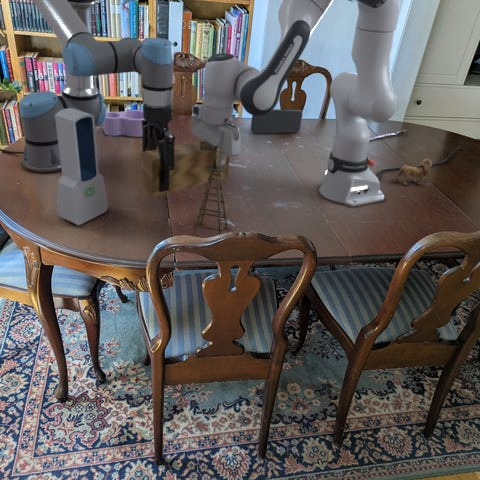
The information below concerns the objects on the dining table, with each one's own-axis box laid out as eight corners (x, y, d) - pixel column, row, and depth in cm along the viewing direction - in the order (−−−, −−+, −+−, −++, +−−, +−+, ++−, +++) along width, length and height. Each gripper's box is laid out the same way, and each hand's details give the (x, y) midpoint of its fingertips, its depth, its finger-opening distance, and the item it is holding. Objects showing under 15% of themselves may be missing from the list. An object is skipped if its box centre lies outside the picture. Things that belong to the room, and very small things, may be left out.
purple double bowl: (105, 137, 184) (104, 120, 180) (103, 126, 193) (101, 110, 190) (156, 136, 190) (156, 119, 186) (151, 125, 200) (151, 109, 196)
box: (152, 196, 129) (151, 160, 123) (141, 187, 133) (140, 151, 127) (227, 178, 143) (230, 144, 137) (216, 170, 147) (218, 137, 141)
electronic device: (75, 227, 128) (63, 121, 112) (57, 218, 131) (42, 113, 115) (109, 210, 137) (102, 110, 121) (90, 202, 140) (81, 103, 124)
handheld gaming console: (297, 130, 211) (300, 108, 206) (299, 132, 209) (303, 110, 204) (249, 131, 204) (252, 109, 199) (252, 134, 202) (254, 111, 197)
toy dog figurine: (420, 178, 179) (427, 156, 174) (429, 184, 174) (437, 162, 170) (388, 181, 174) (395, 158, 169) (397, 187, 170) (404, 164, 165)
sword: (403, 130, 224) (403, 128, 224) (408, 133, 222) (409, 130, 222) (360, 142, 209) (360, 139, 208) (365, 144, 207) (365, 142, 206)
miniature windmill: (221, 244, 128) (229, 139, 111) (191, 238, 129) (195, 134, 112) (228, 227, 135) (237, 127, 119) (200, 222, 136) (205, 122, 120)
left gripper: (190, 113, 115) (187, 196, 128) (152, 92, 127) (153, 170, 140) (163, 117, 111) (163, 202, 124) (127, 95, 123) (130, 175, 136)
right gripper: (248, 124, 128) (243, 170, 135) (206, 102, 141) (204, 146, 148) (230, 127, 124) (226, 174, 132) (188, 105, 137) (187, 149, 145)
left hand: (158, 185), depth 132 cm, fingers closed on box, 6 cm apart
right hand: (214, 159), depth 140 cm, fingers closed on box, 6 cm apart
